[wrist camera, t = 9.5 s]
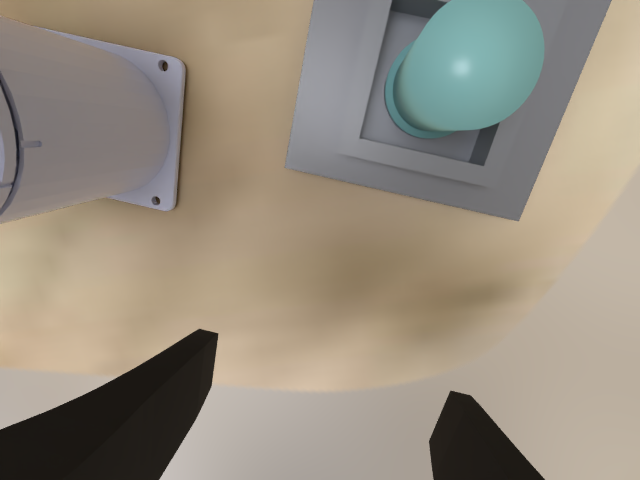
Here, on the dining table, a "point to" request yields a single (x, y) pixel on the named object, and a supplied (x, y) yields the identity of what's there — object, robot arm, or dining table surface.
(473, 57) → the teal rounded piece
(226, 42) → the dining table surface
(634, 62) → the dining table surface
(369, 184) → the housing
